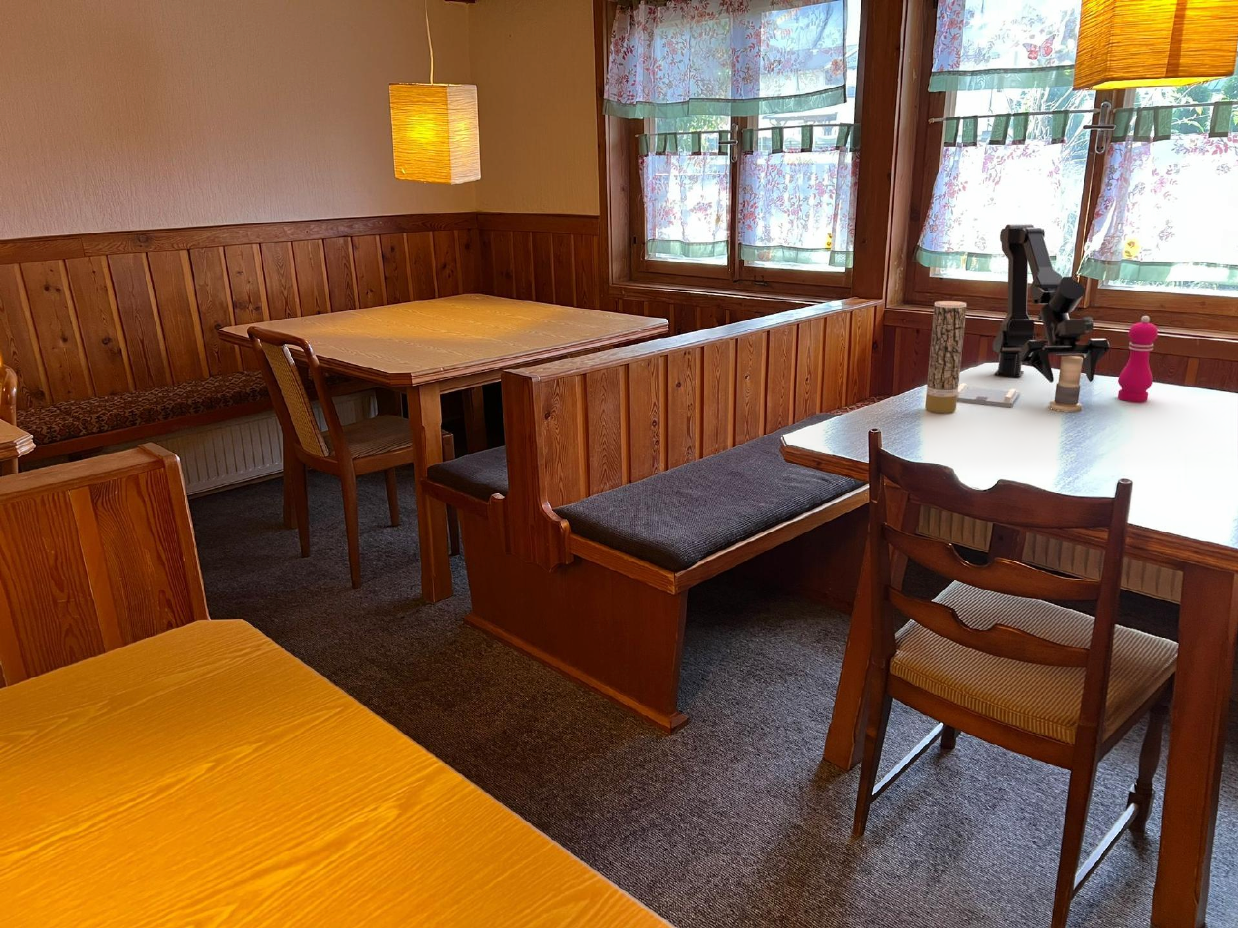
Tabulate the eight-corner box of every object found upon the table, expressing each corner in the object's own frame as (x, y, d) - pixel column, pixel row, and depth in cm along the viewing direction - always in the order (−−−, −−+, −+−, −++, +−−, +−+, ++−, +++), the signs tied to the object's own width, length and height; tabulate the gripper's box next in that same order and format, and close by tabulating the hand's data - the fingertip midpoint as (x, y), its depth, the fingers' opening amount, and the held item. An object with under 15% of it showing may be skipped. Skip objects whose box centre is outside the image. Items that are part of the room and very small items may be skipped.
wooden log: (959, 414, 209) (971, 305, 201) (930, 414, 209) (940, 306, 201) (950, 406, 215) (960, 300, 207) (921, 407, 215) (930, 301, 207)
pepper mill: (1115, 400, 217) (1128, 317, 211) (1115, 393, 223) (1128, 312, 217) (1149, 403, 214) (1164, 319, 207) (1149, 396, 220) (1163, 314, 213)
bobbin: (1051, 403, 216) (1058, 353, 212) (1082, 406, 213) (1090, 356, 209) (1047, 409, 211) (1054, 359, 207) (1079, 413, 207) (1087, 361, 204)
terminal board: (960, 390, 230) (960, 381, 229) (1019, 396, 223) (1020, 387, 222) (949, 400, 220) (950, 392, 219) (1011, 407, 213) (1012, 398, 213)
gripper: (1030, 305, 208) (1044, 363, 201) (1112, 304, 208) (1129, 361, 201) (1012, 333, 218) (1025, 389, 211) (1091, 332, 218) (1106, 387, 211)
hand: (1071, 381), depth 208 cm, fingers open, 9 cm apart
